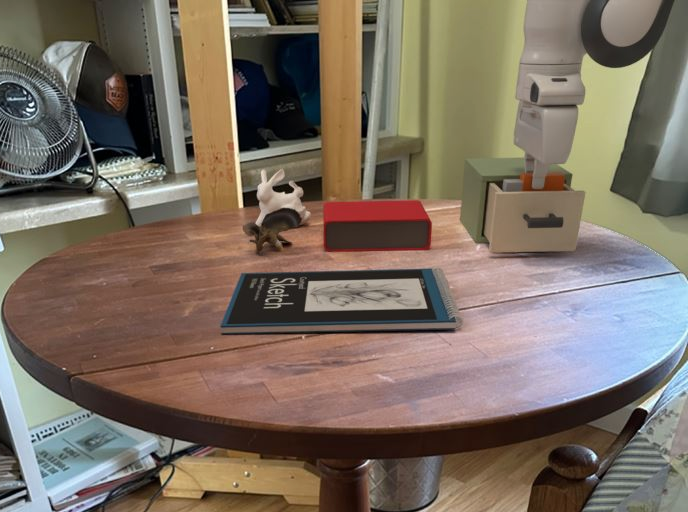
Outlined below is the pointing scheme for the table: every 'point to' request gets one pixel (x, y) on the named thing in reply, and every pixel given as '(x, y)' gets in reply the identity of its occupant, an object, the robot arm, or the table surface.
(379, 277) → the sketchbook
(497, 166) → the cabinet
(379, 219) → the red device housing
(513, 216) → the drawer
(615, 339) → the table surface
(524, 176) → the orange and grey block
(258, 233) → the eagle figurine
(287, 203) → the rabbit figurine
